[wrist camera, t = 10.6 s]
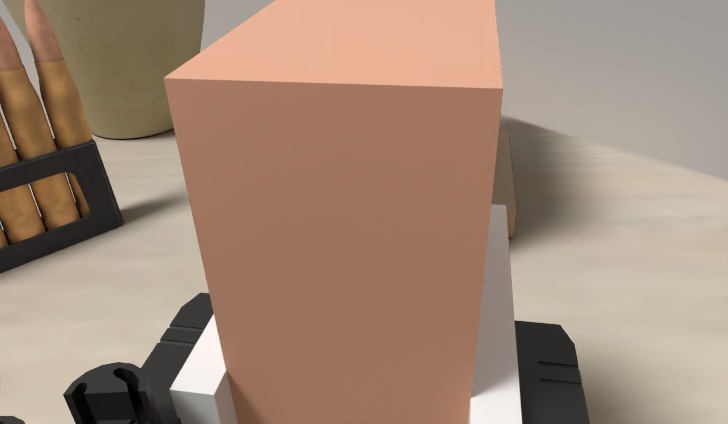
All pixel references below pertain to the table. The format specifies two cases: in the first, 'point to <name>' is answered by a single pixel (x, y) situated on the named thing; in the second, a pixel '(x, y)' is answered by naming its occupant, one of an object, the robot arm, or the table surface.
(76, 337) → the table surface
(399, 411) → the stub
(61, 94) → the ammunition clip
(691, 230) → the table surface
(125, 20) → the plant pot
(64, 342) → the table surface
